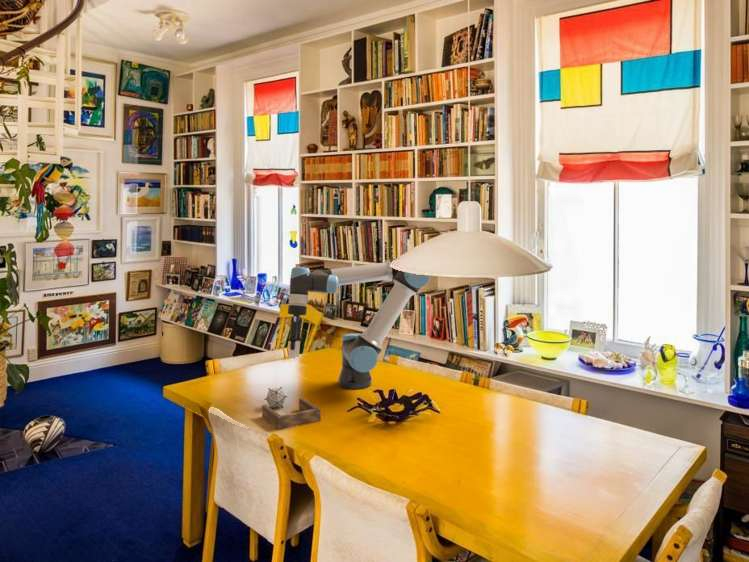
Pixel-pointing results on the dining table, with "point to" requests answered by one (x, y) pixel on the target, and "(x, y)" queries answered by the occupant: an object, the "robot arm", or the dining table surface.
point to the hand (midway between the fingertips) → (293, 357)
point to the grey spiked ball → (275, 398)
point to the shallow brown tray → (293, 415)
